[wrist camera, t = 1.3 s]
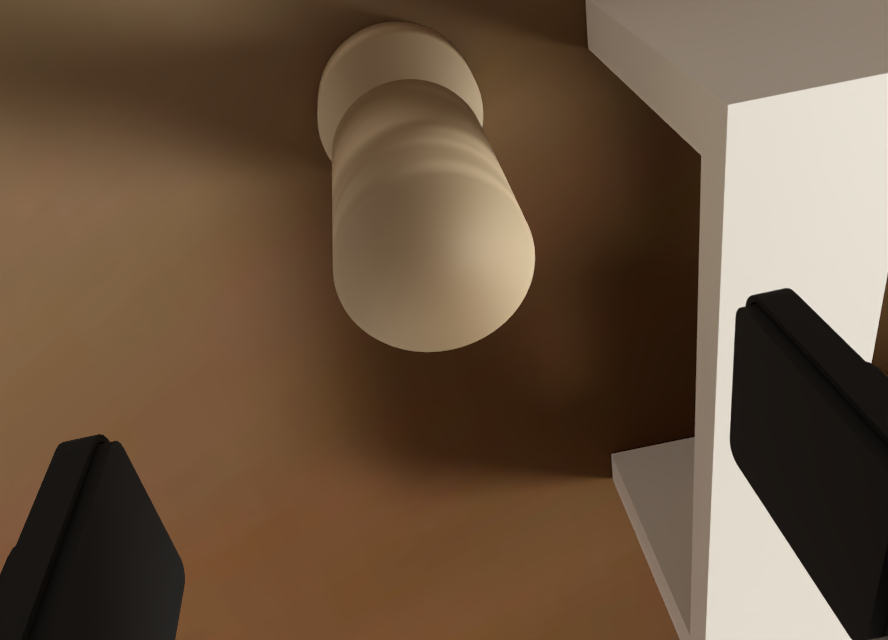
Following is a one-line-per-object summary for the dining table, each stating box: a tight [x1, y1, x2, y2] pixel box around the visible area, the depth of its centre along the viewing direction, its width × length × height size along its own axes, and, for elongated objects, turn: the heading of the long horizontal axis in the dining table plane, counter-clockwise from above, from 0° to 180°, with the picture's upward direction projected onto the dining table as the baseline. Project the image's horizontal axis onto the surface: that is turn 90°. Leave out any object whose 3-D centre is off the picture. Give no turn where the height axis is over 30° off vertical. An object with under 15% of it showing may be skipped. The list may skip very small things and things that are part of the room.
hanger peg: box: [317, 21, 535, 352], centre depth 20 cm, size 5×5×10 cm
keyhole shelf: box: [585, 0, 888, 640], centre depth 25 cm, size 20×14×10 cm
